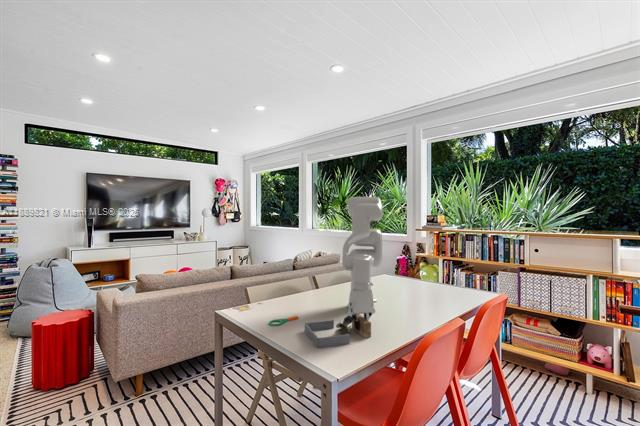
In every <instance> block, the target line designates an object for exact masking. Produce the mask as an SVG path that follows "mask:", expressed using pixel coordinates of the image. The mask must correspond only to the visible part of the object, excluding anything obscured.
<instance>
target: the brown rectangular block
mask: <svg viewBox="0 0 640 426" xmlns="http://www.w3.org/2000/svg"><path fill="white" fill-rule="evenodd" d="M354 321H355V320H354V319H353V322H352V323H351V328H352V329H353V330H354V331H356V332H357V333H358V334H359V335H360V336H361V337H362V338H364V339H367V338H371V337H372V322H370V321H369V320H367V319H365V318H364V316H363V315H362V314H359V321H360V330H359V331H358V330H357V329H355V326H354Z"/></svg>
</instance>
